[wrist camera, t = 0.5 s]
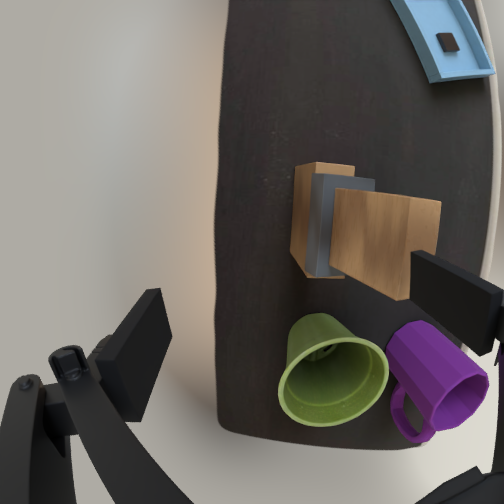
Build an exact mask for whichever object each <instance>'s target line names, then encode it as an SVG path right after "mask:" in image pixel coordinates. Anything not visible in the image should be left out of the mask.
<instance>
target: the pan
mask: <svg viewBox="0 0 504 504" xmlns="http://www.w3.org/2000/svg"><path fill="white" fill-rule="evenodd" d="M390 1H391V3H392V5H393V7H394V8H395V10H396V12H397V14H398V16H399V17H400V19H401V21H402V23H403V25H404V27H405V29H406V31H407V33H408V35H409V37H410V39H411V41H412V43H413V45H414V48H415V50H416V52H417V54H418V56H419V59H420V61H421V63H422V66H423V68H424V70H425V73H426V75H427V78H428V80H429V83H436V82H444V81H452V80H461V79H471V78H482V77H487V76H490V75H493V74H495V71H494V69H493V66H492V64H491V61H490V59H489V56H488V54H487V52H486V49H485V47H484V45H483V43H482V40H481V38H480V36H479V34H478V32H477V30H476V28H475V26H474V24H473V22H472V20H471V18H470V16H469V14H468V12H467V10H466V9H465V7H464V5H463V3H462V1H461V0H390ZM437 33H453V36H454V38H455V40H456V42H457V44H458V46H459V48H460V51H458V52H443V50H442V47H441V45H440V43H439V41H438V39H437V37H436V34H437Z"/></svg>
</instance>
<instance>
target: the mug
mask: <svg viewBox="0 0 504 504" xmlns="http://www.w3.org/2000/svg"><path fill="white" fill-rule="evenodd" d="M385 356H386V358H387V361H388V365H389V369H390V371H391V372H392V373H393V375H394V376H395V377H396V379H397V380H398V381H399V382H398V383H397V384H396V386H395V388H394V391H393V393H392V397H391V401H390V406H391V414H392V417H393V420H394V422H395V424H396V426H397V427H398V429H399V431H400V432H401V433H402V434H403V435H404V437H405V438H406V439H407V440H409V441H411V442H413V443H423V442H426V441H429V440H430V439H431V438H432V437H433V435H434V434H435V432H436V431H442V430H447V429H451V428H454V427H457V426H459V425H460V424H461V423H463V422H464V421H465V420H466V419H467V418H469V417H470V416H471V415H473V413H474V412H475V411H476V409H477V408H478V407H479V406H480V404H481V403H482V401H483V400H484V398H485V396H486V393H487V390H488V387H489V381H488V376H487V373H486V372H485V371H484V370H483V369H482V368H480V367H479V366H478V365H477V364H476V363H475V362H474V361H473V360H471V359H470V358H469V357H468V356H467V355H466V354H465V353H464V352H463V351H461V350H460V349H459V348H458V347H457V346H456V345H455V344H453V343H452V342H451V341H450V340H449V339H448V338H447V337H445V336H444V335H443V334H442V333H441V332H440V331H438V330H437V329H436V328H435V327H434V326H433V325H431V324H429V323H427V322H424V321H422V320H419V321H414V322H410V323H407V324H406V325H404V326H403V327H402V328H400V329H399V330H398V331H396V332H395V333H394V335H393V336H392V338H391V340H390V341H389V343H388V345H387V346H386V353H385ZM405 393H407V394H408V395H409V397H410V398H411V400H412V401H413V402H414V404H415V405H416V407H417V408H418V410H419V411H420V412H421V414H422V415H423V417H424V420H423V427H422V432H421V433H418V432H417V431H416V430H415V429H414V428H413V427H412V426H411V424H410V422H409V420H408V419H407V417H406V415H405V412H404V410H403V401H404V396H405Z"/></svg>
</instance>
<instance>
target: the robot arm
mask: <svg viewBox="0 0 504 504" xmlns="http://www.w3.org/2000/svg"><path fill="white" fill-rule="evenodd" d="M409 299H410V300H411V301H413V302H414V303H415V304H416V305H418V306H419V307H420V308H421V309H423V310H424V311H425V312H426V313H428V314H429V315H430V316H431V317H433V318H434V319H435V320H436V321H438V322H439V323H440V324H441V325H442V326H444V327H445V328H446V329H447V330H448V331H450V332H451V333H452V334H453V335H454V336H456V337H457V338H458V339H459V340H460V341H462V342H463V343H464V344H465V345H466V346H468V347H469V348H470V349H471V350H472V351H473V352H475V353H476V354H477V355H478V356H482V355H485V354H487V353H489V352H491V351H492V348H493V344H494V340H495V338H496V339H497V340H498V341H500V345H499V349H498V353H497V357H496V360H495V364H494V366H496V365H497V363H498V362H499V400H498V403H499V404H498V420H497V432H496V442H495V450H494V457H493V464H492V470H491V472H490V473H485V474H482V473H481V472H480V470H479V469H478V467H477V466H475V467H473V468H472V469H470V470H468V471H466V472H464V473H462V474H460V475H458V476H456V477H454V478H452V479H450V480H448V481H446V482H444V483H443V484H441V485H440V486H439V487H437V488H436V489H435V490H433V491H432V492H431V493H429V494H428V495H426V496H425V497H424V498H422V499H421V500H419V501H418V502H416V503H415V504H504V290H503V289H501V288H499V287H497V286H495V285H494V284H492V283H490V282H488V281H486V280H484V279H482V278H480V277H478V276H476V275H474V274H472V273H470V272H468V271H466V270H464V269H462V268H460V267H458V266H456V265H454V264H451V263H449V262H447V261H445V260H443V259H441V258H439V257H437V256H435V255H432V254H430V253H428V252H426V251H424V250H417V251H411V252H410V293H409ZM171 339H172V333H171V329H170V325H169V322H168V317H167V313H166V309H165V305H164V301H163V297H162V293H161V289H160V288H156V289H147V290H146V291H145V292H144V293H143V295H142V296H141V297H140V298H139V300H138V301H137V302H136V304H135V305H134V306H133V308H132V309H131V310H130V312H129V313H128V315H127V316H126V317H125V318H124V320H123V321H122V322H121V324H120V325H119V326H118V328H117V329H116V331H115V332H114V333H113V335H108V336H106V337H105V338H104V339H102V340H101V341H100V342H99V343H98V344H97V346H96V348H95V349H94V350H93V351H92V353H91V354H90V355H89V356H88V358H87V359H86V358H85V355H84V352H83V350H82V348H81V347H80V346H76V345H71V346H66V347H62V348H60V349H58V350H56V351H54V352H53V353H52V354H51V355H50V356H49V360H48V361H49V364H50V366H51V368H52V370H53V372H54V375H55V377H56V379H57V381H58V383H54V384H48V385H43V383H42V381H41V379H40V377H39V376H37V375H34V374H30V375H26V376H21V378H20V377H19V378H18V379H17V380H16V381H15V382H14V383H13V384H12V386H11V389H10V392H9V396H8V399H7V403H6V406H5V410H4V414H3V418H2V422H1V426H0V504H77V503H76V496H75V489H74V481H73V471H72V462H71V461H72V460H71V446H70V435H76V434H77V435H78V434H79V436H80V439H81V441H82V443H83V445H84V447H85V449H86V451H87V453H88V455H89V457H90V459H91V461H92V463H93V465H94V467H95V469H96V471H97V473H98V474H99V476H100V478H101V480H102V482H103V483H104V485H105V487H106V489H107V491H108V492H109V494H110V496H111V497H112V499H113V501H114V502H115V504H194V503H193V502H192V501H191V500H190V499H189V498H188V497H187V496H186V495H185V494H184V493H183V492H182V491H181V490H180V489H179V488H178V487H177V486H176V484H174V482H173V481H172V480H171V479H170V478H169V477H168V476H167V475H166V473H165V472H164V471H163V470H162V469H161V468H160V466H159V465H158V464H157V463H156V462H155V460H154V459H153V458H152V457H151V456H150V454H149V453H148V452H147V451H146V449H145V448H144V447H143V446H142V444H141V443H140V442H139V440H138V439H137V438H136V436H135V435H134V434H133V433H132V431H131V430H130V429H129V427H128V426H127V424H126V423H125V422H141V420H142V417H143V415H144V412H145V409H146V406H147V403H148V401H149V398H150V395H151V392H152V389H153V387H154V384H155V381H156V378H157V376H158V373H159V371H160V368H161V365H162V362H163V360H164V357H165V355H166V352H167V349H168V347H169V344H170V341H171Z"/></svg>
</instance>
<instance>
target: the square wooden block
mask: <svg viewBox="0 0 504 504" xmlns="http://www.w3.org/2000/svg"><path fill="white" fill-rule="evenodd" d="M354 170H355V166H349V165H341V164H331V163H322V162H314V163H309V164H304V165H299V166H295V180H294V197H293V213H292V228H291V242H290V253H291V254H292V256H293V257H294V258H295V260H296V261H297V263H298V264H299V266H300V267H301V269H302V270H303V272H304V273H305V275H306V276H307V278H316V277H314V276H312V275H311V274H309V273H308V272H306V271H305V260H306V248H307V236H308V223H309V209H310V194H311V178H312V173H327V174H336V175H345V176H353V177H354ZM319 278H341V279H344V278H345V276H332V277H319Z"/></svg>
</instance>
